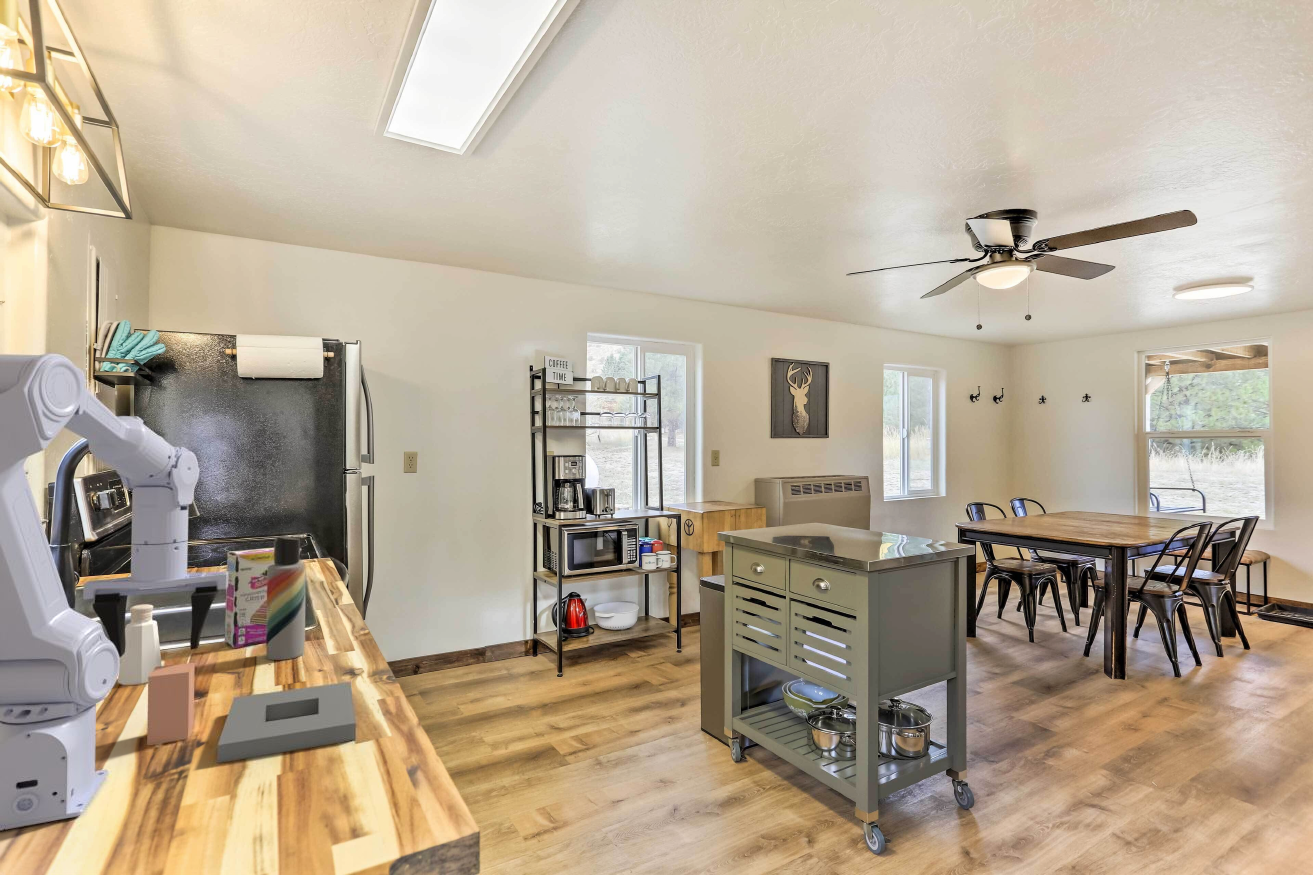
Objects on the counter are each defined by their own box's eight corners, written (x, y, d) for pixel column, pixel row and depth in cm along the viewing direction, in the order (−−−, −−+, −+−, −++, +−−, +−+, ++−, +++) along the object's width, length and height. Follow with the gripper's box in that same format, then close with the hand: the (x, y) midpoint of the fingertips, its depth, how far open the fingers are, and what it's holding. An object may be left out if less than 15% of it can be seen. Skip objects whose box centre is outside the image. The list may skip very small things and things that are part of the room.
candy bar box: (234, 649, 117) (235, 554, 118) (223, 644, 121) (224, 551, 121) (301, 636, 126) (302, 547, 126) (289, 631, 129) (291, 544, 129)
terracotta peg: (188, 738, 82) (189, 671, 82) (147, 745, 80) (148, 676, 80) (193, 726, 85) (194, 662, 85) (154, 732, 83) (155, 666, 84)
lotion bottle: (267, 652, 116) (269, 534, 116) (305, 648, 118) (306, 533, 118) (264, 662, 111) (266, 539, 111) (303, 658, 113) (305, 537, 113)
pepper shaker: (171, 674, 105) (172, 602, 105) (141, 686, 99) (143, 610, 100) (139, 672, 105) (140, 601, 105) (107, 684, 100) (109, 609, 100)
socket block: (355, 739, 82) (355, 722, 82) (217, 763, 75) (217, 744, 75) (350, 695, 96) (350, 681, 96) (233, 712, 90) (234, 697, 90)
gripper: (231, 535, 92) (229, 636, 92) (95, 541, 86) (93, 650, 85) (225, 541, 86) (223, 649, 86) (78, 548, 79) (76, 666, 79)
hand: (157, 651), depth 85 cm, fingers open, 7 cm apart
